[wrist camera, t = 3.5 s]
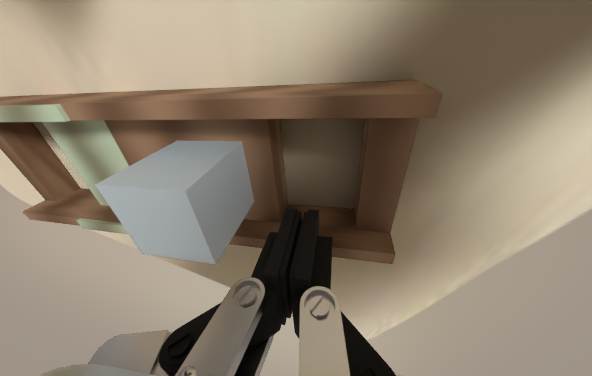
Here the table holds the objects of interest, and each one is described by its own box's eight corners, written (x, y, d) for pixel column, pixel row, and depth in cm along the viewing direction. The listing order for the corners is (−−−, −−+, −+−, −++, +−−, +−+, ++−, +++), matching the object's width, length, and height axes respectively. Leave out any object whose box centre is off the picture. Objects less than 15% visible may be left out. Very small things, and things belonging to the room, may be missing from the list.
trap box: (414, 79, 12) (445, 94, 8) (383, 220, 18) (393, 267, 14) (0, 96, 19) (-88, 108, 15) (75, 194, 25) (26, 221, 21)
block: (241, 141, 14) (185, 190, 9) (254, 201, 17) (215, 264, 12) (177, 140, 15) (94, 184, 10) (199, 197, 18) (142, 253, 13)
